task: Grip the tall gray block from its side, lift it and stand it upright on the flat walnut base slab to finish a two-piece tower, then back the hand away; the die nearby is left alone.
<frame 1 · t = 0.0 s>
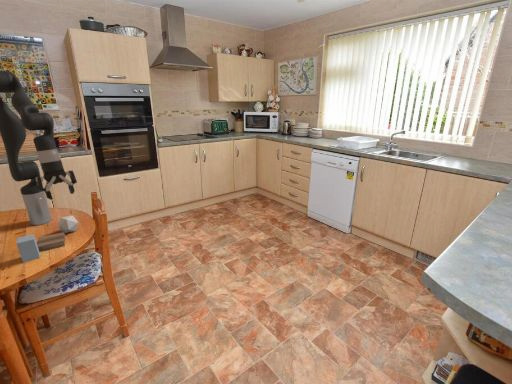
hand: (61, 196, 121), 22 cm above the table, tool pointing down, fingers open, 8 cm apart
die: (70, 231, 137), on the table
gray block: (31, 257, 115), on the table
walnut base: (52, 244, 126), on the table
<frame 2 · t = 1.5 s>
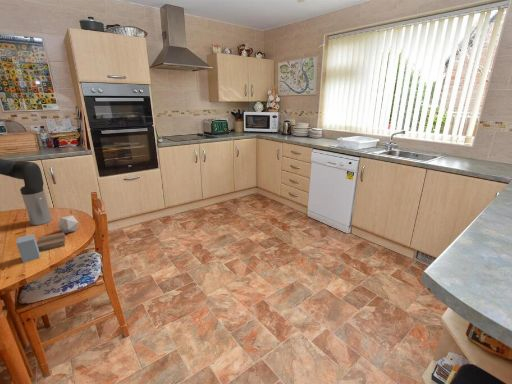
nothing on the table moved.
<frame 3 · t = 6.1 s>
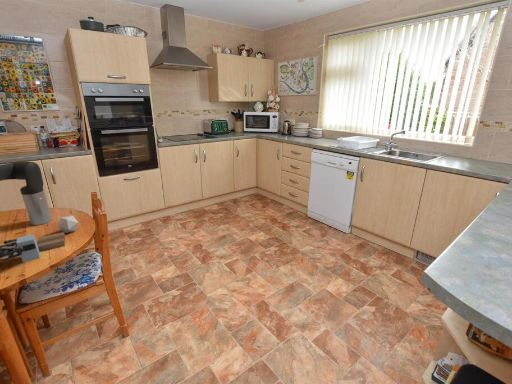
hand: (35, 242, 115), 6 cm above the table, tool horizontal, fingers closed on gray block, 5 cm apart
gray block: (31, 257, 115), on the table, touching gripper
everything else where it was.
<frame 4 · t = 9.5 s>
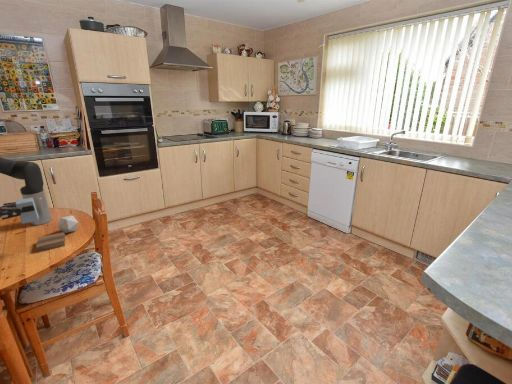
hand: (33, 205, 117), 20 cm above the table, tool horizontal, fingers closed on gray block, 5 cm apart
gray block: (30, 219, 118), point 14 cm above the table, touching gripper
everything else where it was.
when the fingers open (10 cm above the table, at t = 13.0 s): gray block drops 1 cm, point 3 cm above the table.
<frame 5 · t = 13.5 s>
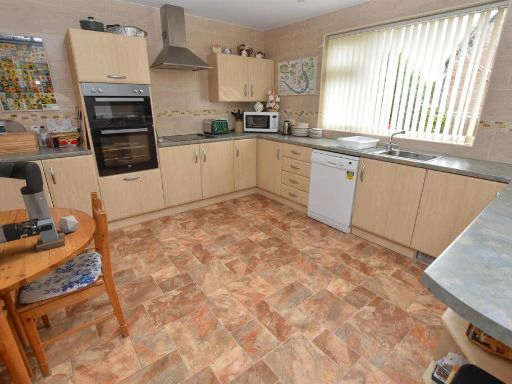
hand: (51, 223, 123), 10 cm above the table, tool horizontal, fingers open, 8 cm apart
gray block: (50, 239, 125), point 3 cm above the table
everything else where it was.
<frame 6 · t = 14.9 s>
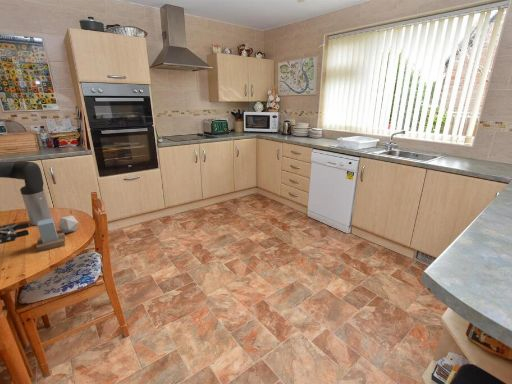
hand: (28, 228, 118), 10 cm above the table, tool horizontal, fingers open, 8 cm apart
gray block: (50, 239, 125), point 2 cm above the table, touching walnut base
walnut base: (52, 245, 126), on the table, touching gray block
everything else where it was.
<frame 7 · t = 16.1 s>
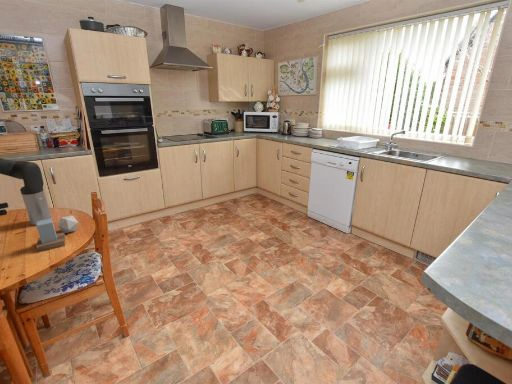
hand: (7, 208, 114), 20 cm above the table, tool horizontal, fingers open, 8 cm apart
nothing on the table moved.
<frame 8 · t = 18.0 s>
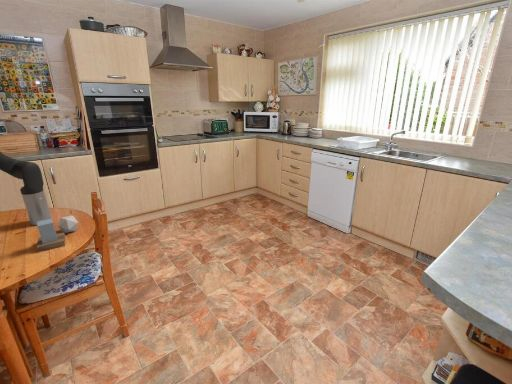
nothing on the table moved.
at the end: gray block inside the target area on the walnut base (0.4 cm from its centre), point 3.0 cm above the walnut base's base; gray block tilted 1°; the gripper is holding nothing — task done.
